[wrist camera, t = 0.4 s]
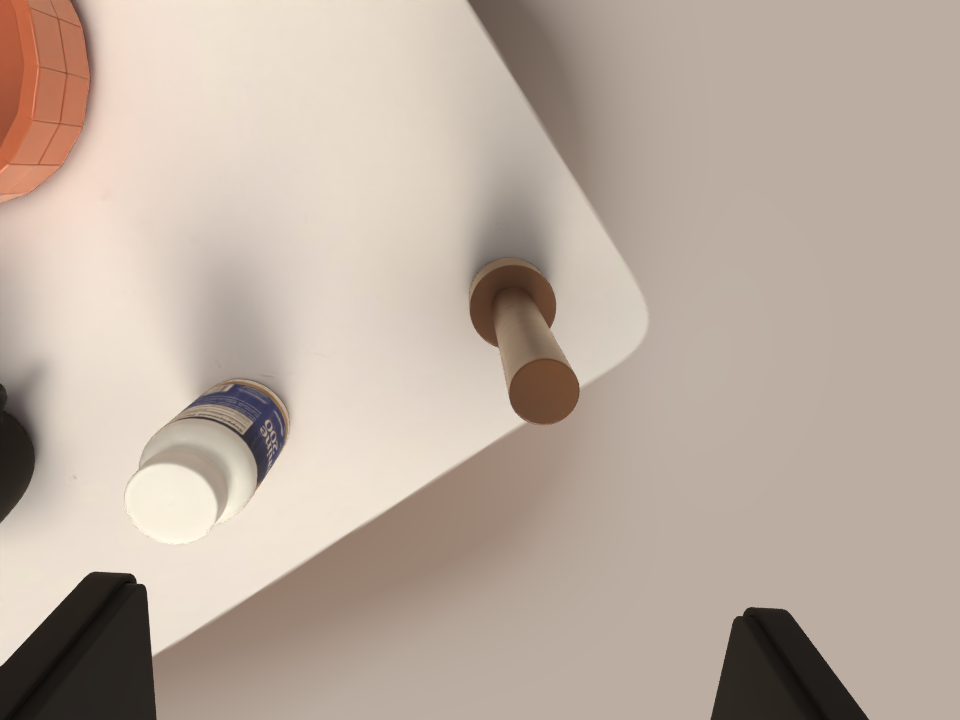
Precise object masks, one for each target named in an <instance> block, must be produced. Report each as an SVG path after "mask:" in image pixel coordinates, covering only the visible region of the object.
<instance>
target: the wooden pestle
mask: <svg viewBox="0 0 960 720" xmlns="http://www.w3.org/2000/svg"><path fill="white" fill-rule="evenodd" d="M469 305H470V316H471V320H472V323H473V325H474V328H475V329H476V331H477V332H478V334H479V335H480V336H481V337H482V338H483V339H484V340H485V341H487V342H488V343H490V344H491V345H493V346H496V347H498V348H499V350H500V355H501V360H502V365H503V370H504V375H505V380H506V384H507V389H508V394H509V399H510V403H511V405H512V407H513V409H514V411H515V412H516V413H517V414H518V415H519V416H520V417H521V418H522V419H524V420H525V421H527V422H529V423H532V424H537V425H549V424H554V423H556V422H559V421H561V420H563V419H564V418H565V417H567V416H568V415H569V414H570V413H571V412H572V411H573V409H574V408H575V406H576V404H577V402H578V398H579V383H578V379H577V377H576V375H575V373H574V372H573V370H572V368H571V366H570V364H569V363H568V361H567V359H566V357H565V355H564V354H563V352H562V350H561V348H560V347H559V345H558V343H557V341H556V339H555V338H554V336H553V334H552V332H551V330H550V327H551V326H552V323H553V321H554V318H555V313H556V299H555V295H554V292H553V290H552V287H551V286H550V284H549V282H548V281H547V280H546V279H545V277H544V276H543V275H542V274H541V272H540V271H539V270H538V269H537V268H536V267H535V266H534V265H532V264H531V263H529V262H527V261H525V260H522V259H518V258H501V259H498V260H495V261H492V262H490V263H489V264H487V265H486V266H484V267H483V268H482V269H481V270H480V271H479V272H478V273H477V275H476V276H475V278H474V280H473V282H472V285H471V288H470V293H469Z"/></svg>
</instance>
